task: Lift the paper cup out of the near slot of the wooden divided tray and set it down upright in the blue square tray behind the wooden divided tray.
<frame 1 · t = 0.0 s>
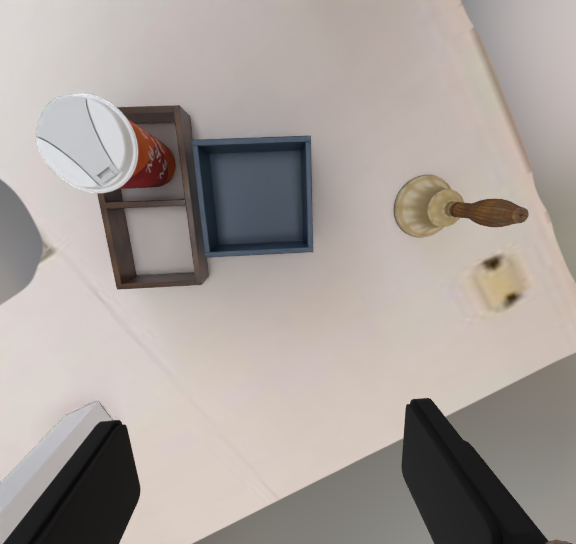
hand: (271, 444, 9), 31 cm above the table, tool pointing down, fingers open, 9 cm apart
blue square tray: (258, 199, 38), on the table
hand bell: (422, 206, 39), on the table
wooden divided tray: (159, 203, 37), on the table
milk: (93, 421, 45), on the table
paper cup: (153, 163, 36), resting in wooden divided tray
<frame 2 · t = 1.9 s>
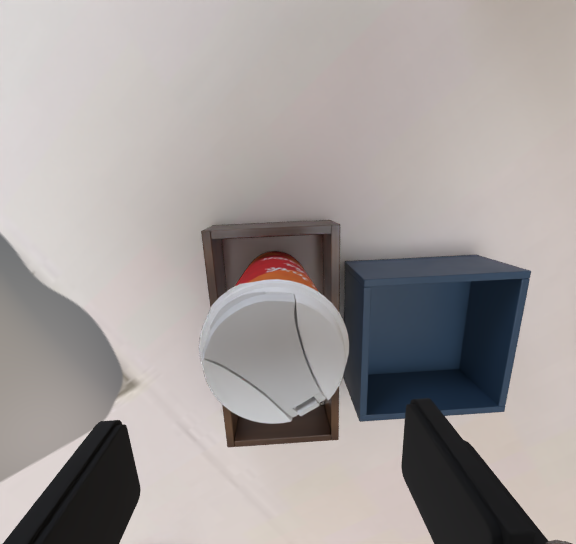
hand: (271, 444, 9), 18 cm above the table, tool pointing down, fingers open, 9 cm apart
blue square tray: (406, 319, 28), on the table
wooden divided tray: (277, 326, 28), on the table
paper cup: (274, 278, 27), resting in wooden divided tray
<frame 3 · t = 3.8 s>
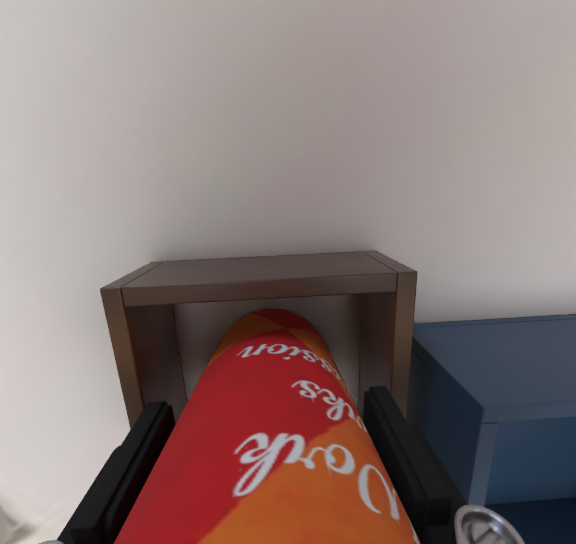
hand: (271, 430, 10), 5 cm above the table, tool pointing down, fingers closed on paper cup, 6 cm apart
blue square tray: (501, 419, 16), on the table
wooden divided tray: (276, 435, 16), on the table
paper cup: (271, 355, 15), resting in wooden divided tray, touching gripper
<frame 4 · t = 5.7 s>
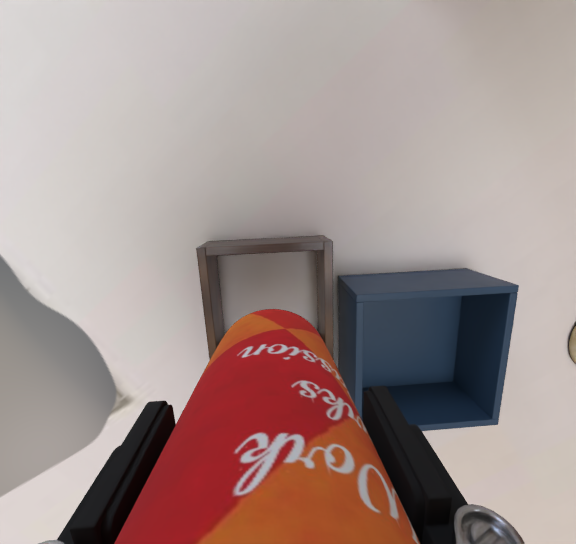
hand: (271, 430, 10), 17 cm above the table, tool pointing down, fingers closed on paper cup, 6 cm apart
blue square tray: (400, 332, 29), on the table
wooden divided tray: (272, 341, 28), on the table
paper cup: (271, 355, 15), point 12 cm above the table, touching gripper
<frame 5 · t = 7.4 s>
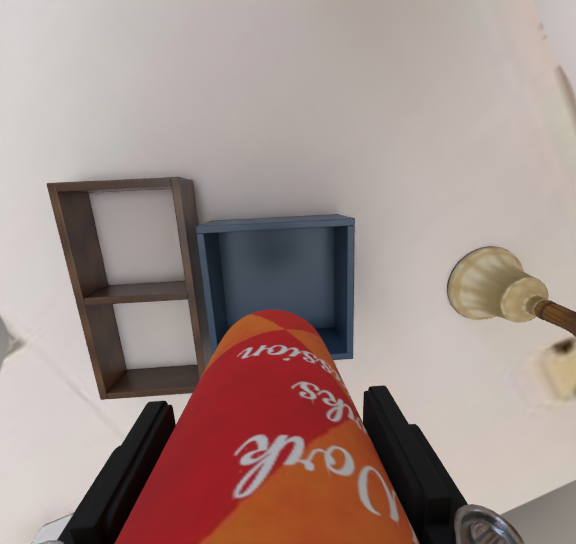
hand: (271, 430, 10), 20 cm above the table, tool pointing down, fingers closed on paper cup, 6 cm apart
blue square tray: (278, 278, 30), on the table
hand bell: (482, 283, 31), on the table
wooden divided tray: (154, 285, 29), on the table
milk: (77, 530, 37), on the table
paper cup: (271, 356, 15), point 16 cm above the table, touching gripper
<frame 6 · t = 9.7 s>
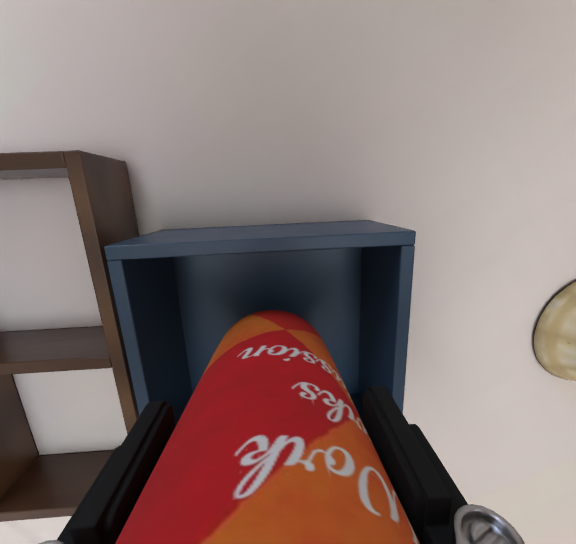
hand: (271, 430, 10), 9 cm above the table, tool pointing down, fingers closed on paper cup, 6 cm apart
blue square tray: (272, 320, 19), on the table
wooden divided tray: (72, 332, 18), on the table
paper cup: (271, 356, 15), point 4 cm above the table, touching gripper
when the fingers open (5 cm above the table, at t = 11.3 s): paper cup stays where it is, resting on blue square tray.
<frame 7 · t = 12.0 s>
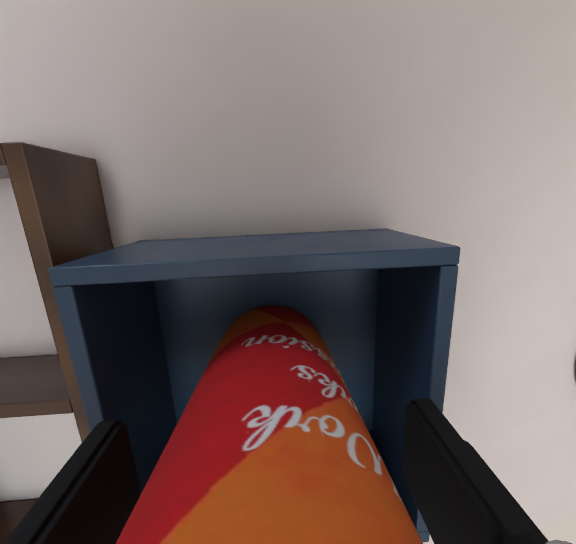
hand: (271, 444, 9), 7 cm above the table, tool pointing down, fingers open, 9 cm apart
blue square tray: (272, 346, 16), on the table
wooden divided tray: (36, 361, 16), on the table
paper cup: (271, 349, 16), resting on blue square tray
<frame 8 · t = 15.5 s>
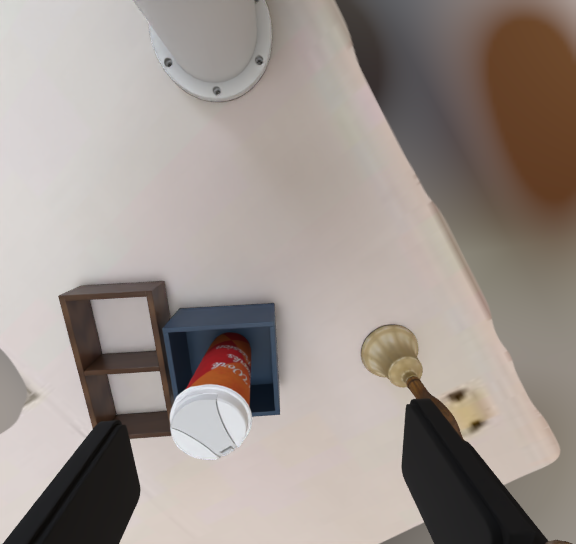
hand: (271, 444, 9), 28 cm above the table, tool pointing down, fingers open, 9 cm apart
blue square tray: (231, 348, 40), on the table
hand bell: (388, 350, 41), on the table
wooden divided tray: (136, 354, 39), on the table
paper cup: (230, 349, 39), resting on blue square tray
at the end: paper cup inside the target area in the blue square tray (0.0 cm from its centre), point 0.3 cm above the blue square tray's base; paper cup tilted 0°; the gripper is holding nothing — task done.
